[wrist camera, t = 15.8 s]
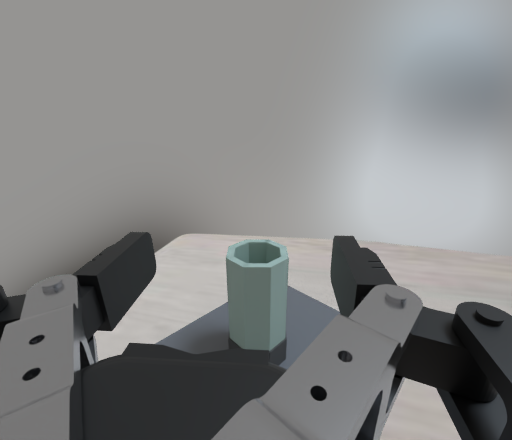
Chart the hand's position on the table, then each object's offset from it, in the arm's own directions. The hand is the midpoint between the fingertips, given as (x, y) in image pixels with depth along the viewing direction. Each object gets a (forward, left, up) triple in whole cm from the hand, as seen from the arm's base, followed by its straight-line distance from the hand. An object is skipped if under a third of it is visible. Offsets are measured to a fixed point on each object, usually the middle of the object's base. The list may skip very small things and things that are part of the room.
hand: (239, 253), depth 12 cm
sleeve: (-8, -7, -16) cm, 20 cm away
